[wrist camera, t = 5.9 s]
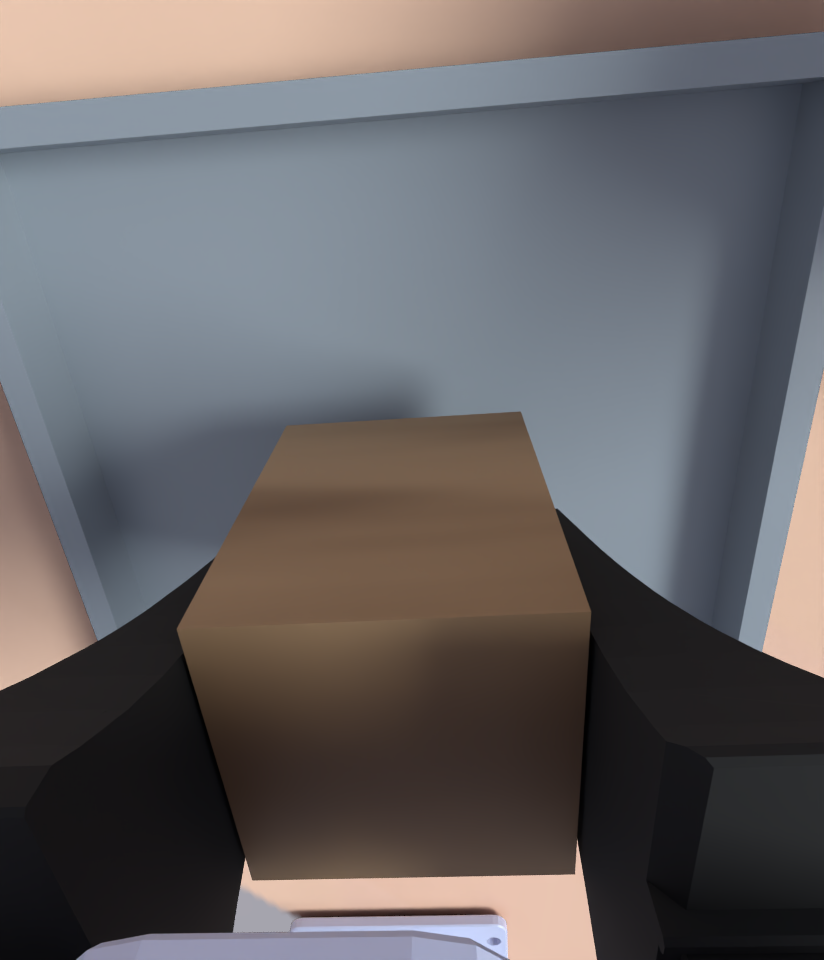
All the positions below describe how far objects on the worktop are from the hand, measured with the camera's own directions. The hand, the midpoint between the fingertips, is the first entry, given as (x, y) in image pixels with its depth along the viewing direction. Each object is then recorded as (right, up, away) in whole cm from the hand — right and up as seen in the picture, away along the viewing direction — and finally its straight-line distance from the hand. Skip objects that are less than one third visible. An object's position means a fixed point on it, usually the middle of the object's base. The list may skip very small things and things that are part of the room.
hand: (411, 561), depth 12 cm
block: (0, +1, +1) cm, 1 cm away
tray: (0, +2, +4) cm, 4 cm away
